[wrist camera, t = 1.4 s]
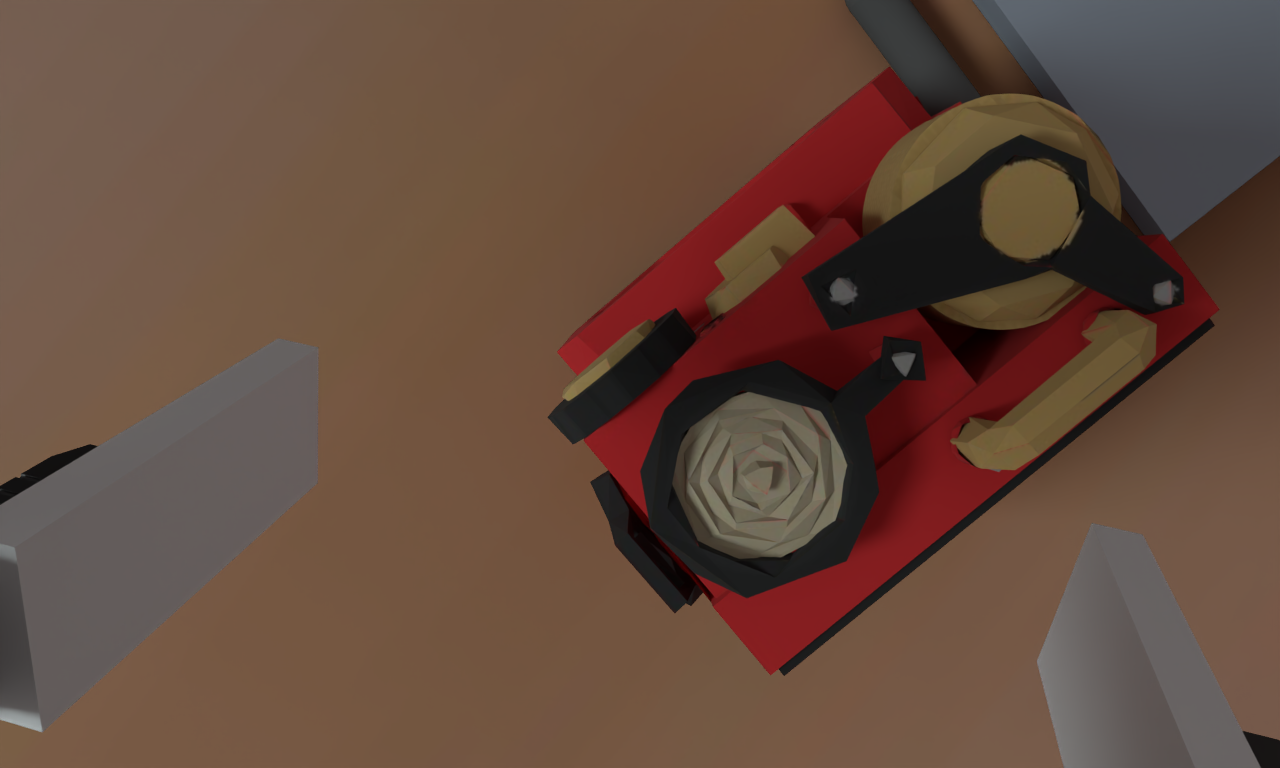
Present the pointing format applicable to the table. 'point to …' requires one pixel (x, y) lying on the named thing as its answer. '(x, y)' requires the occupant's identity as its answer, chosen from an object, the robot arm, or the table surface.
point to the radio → (867, 356)
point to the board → (1159, 91)
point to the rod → (914, 52)
